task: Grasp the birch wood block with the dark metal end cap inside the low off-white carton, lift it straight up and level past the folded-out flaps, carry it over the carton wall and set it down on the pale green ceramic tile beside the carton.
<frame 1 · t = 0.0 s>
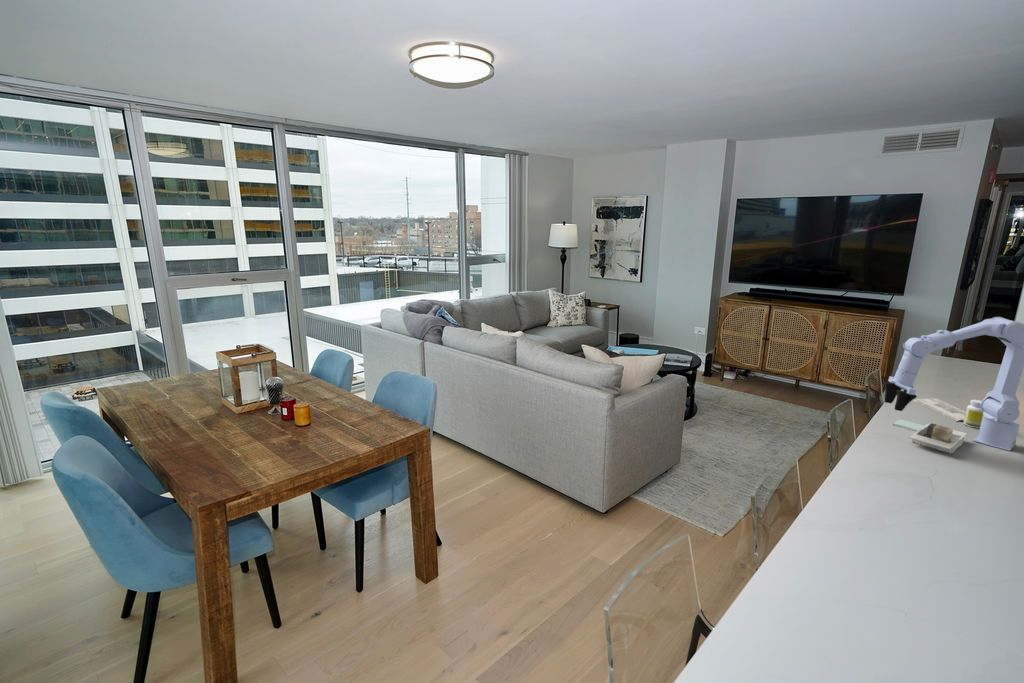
hand: (892, 406, 180), 11 cm above the table, tool pointing down, fingers open, 7 cm apart
tile: (908, 426, 189), on the table
supplement bottle: (972, 426, 190), on the table
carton: (936, 443, 175), on the table
block: (938, 435, 174), in the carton
newspaper: (947, 412, 204), on the table
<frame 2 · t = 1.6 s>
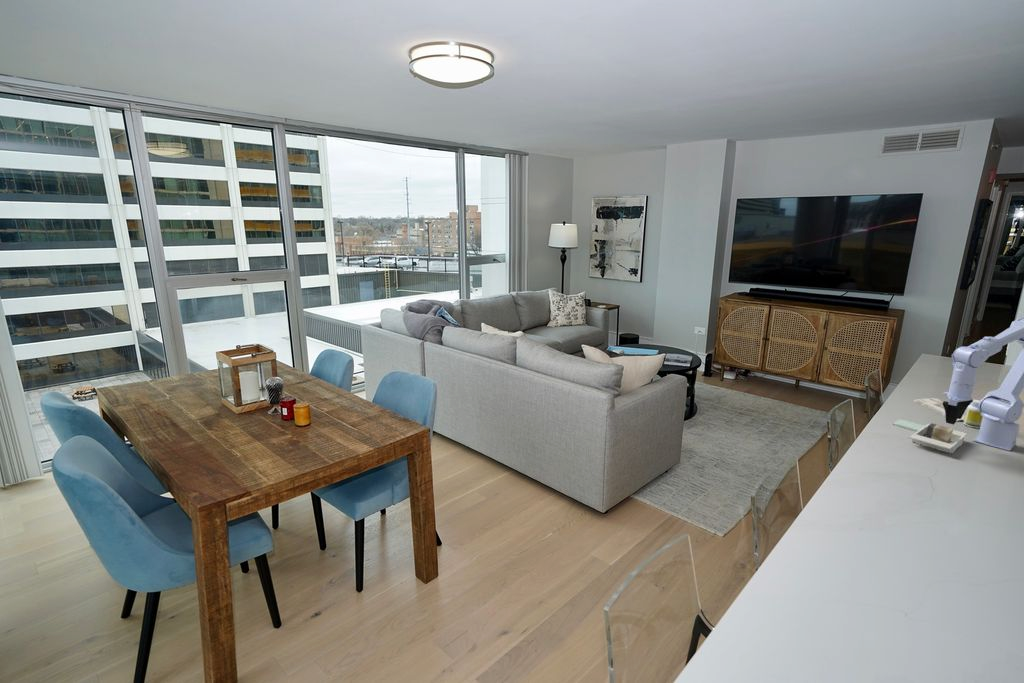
hand: (953, 420, 170), 9 cm above the table, tool pointing down, fingers open, 7 cm apart
nothing on the table moved.
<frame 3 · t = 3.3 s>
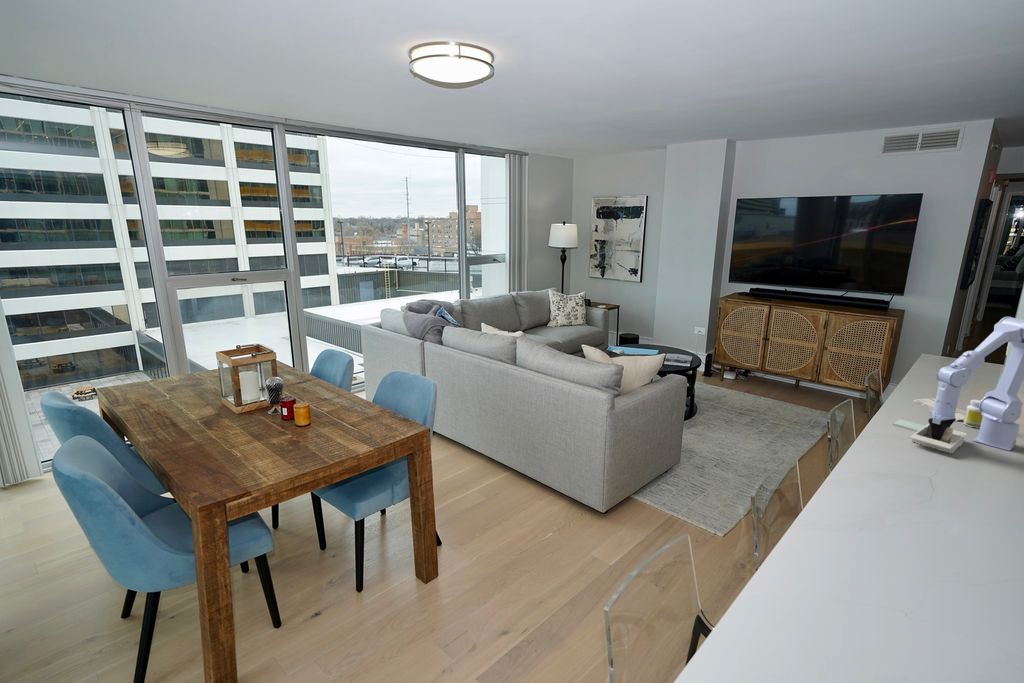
hand: (938, 438, 174), 2 cm above the table, tool pointing down, fingers closed on block, 4 cm apart
block: (938, 435, 174), in the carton, touching gripper
everything else where it was.
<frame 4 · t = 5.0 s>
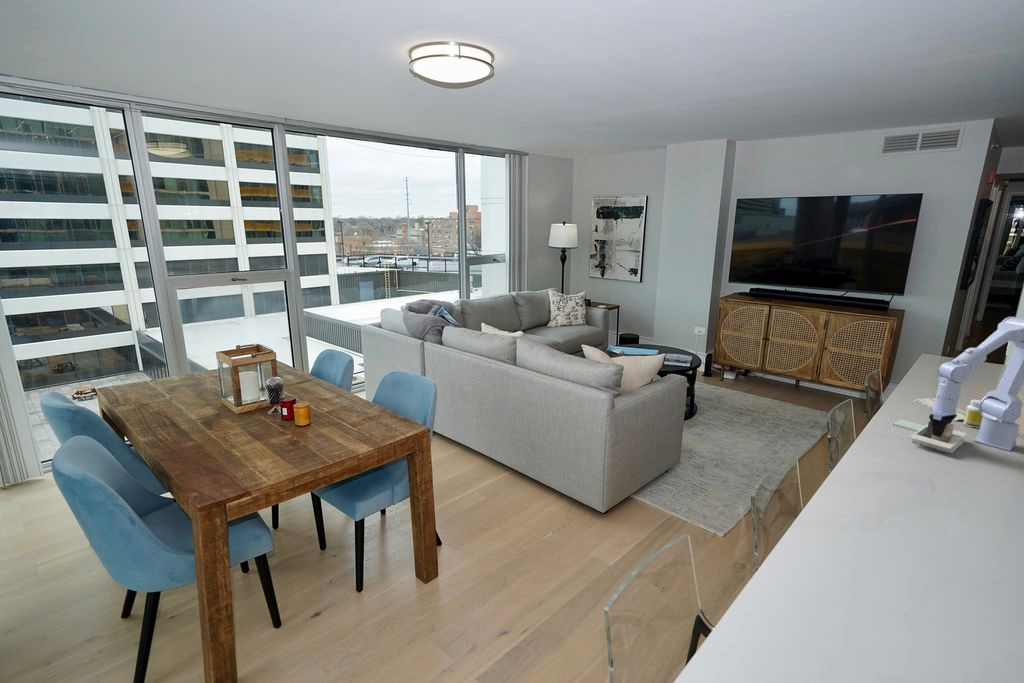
hand: (938, 434, 174), 3 cm above the table, tool pointing down, fingers closed on block, 4 cm apart
block: (939, 431, 174), point 4 cm above the table, touching gripper
everything else where it was.
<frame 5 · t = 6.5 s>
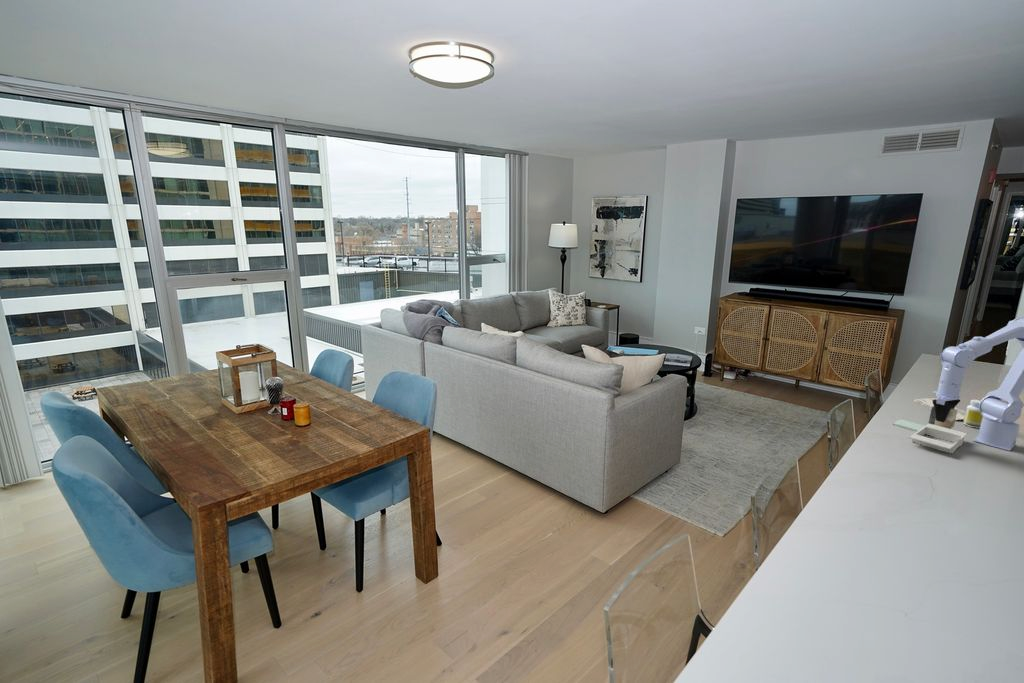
hand: (942, 419, 173), 9 cm above the table, tool pointing down, fingers closed on block, 4 cm apart
block: (942, 416, 172), point 10 cm above the table, touching gripper
everything else where it was.
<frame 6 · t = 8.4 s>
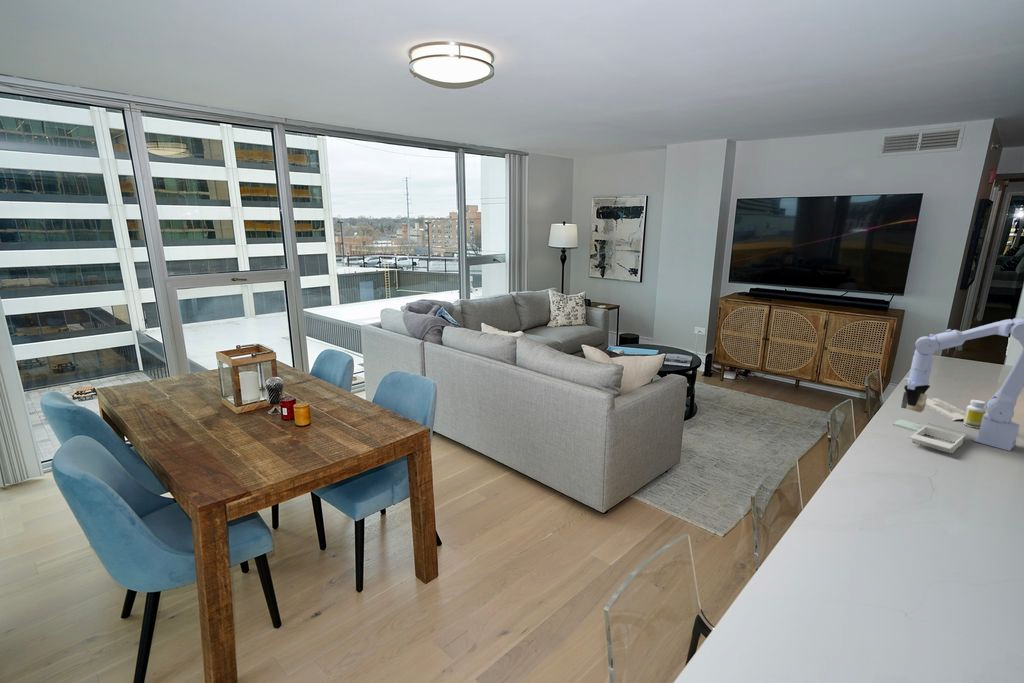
hand: (913, 403, 187), 9 cm above the table, tool pointing down, fingers closed on block, 4 cm apart
block: (914, 401, 187), point 10 cm above the table, touching gripper
everything else where it was.
when the fingers open (4 cm above the table, at t = 10.0 s): block drops 1 cm, resting on tile.
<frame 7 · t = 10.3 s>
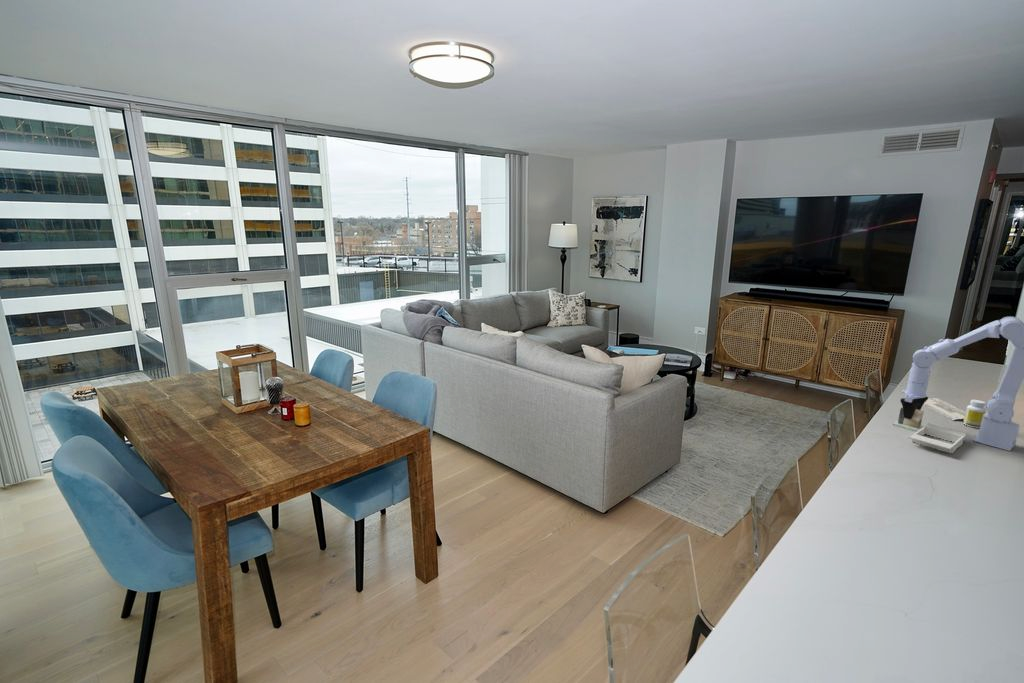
hand: (910, 416, 188), 4 cm above the table, tool pointing down, fingers open, 7 cm apart
block: (910, 417, 188), on the tile, point 4 cm above the table
everything else where it was.
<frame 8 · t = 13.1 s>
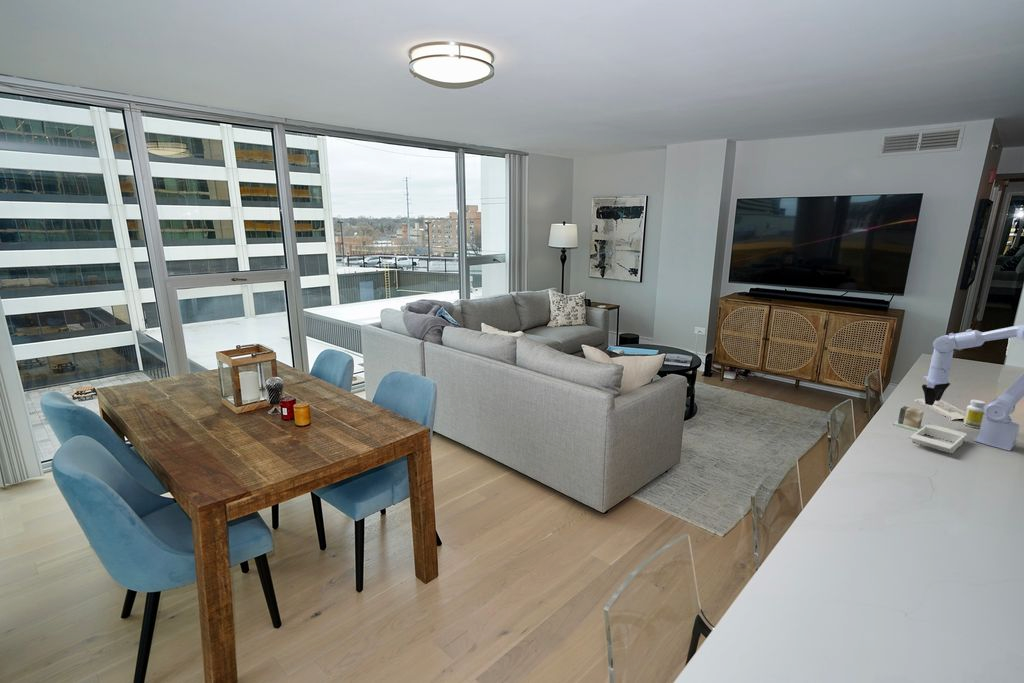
hand: (932, 402, 187), 9 cm above the table, tool pointing down, fingers open, 7 cm apart
nothing on the table moved.
at the end: block 0.0 cm off-centre on the tile, point 3.6 cm above the tile's base; block tilted 0°; the gripper is holding nothing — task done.
